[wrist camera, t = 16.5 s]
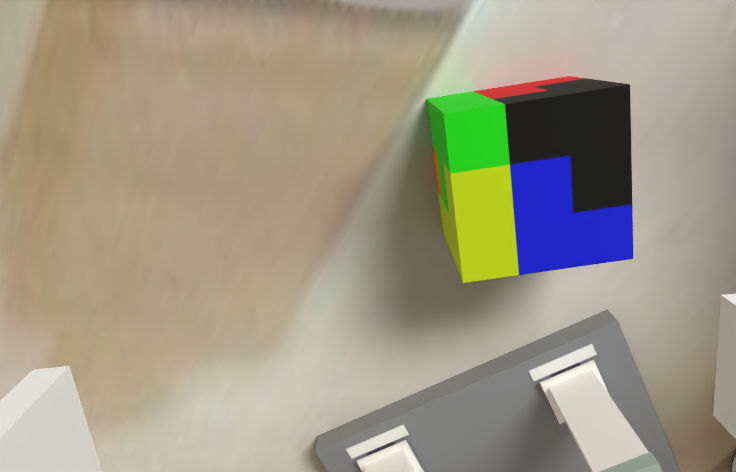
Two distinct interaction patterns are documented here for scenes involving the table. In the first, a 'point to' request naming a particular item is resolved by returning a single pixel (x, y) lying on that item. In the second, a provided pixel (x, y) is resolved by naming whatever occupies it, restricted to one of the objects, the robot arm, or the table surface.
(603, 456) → the lever
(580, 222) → the puzzle toy
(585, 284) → the table surface
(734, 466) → the pill bottle
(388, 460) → the white orange rectangular block
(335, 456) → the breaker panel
